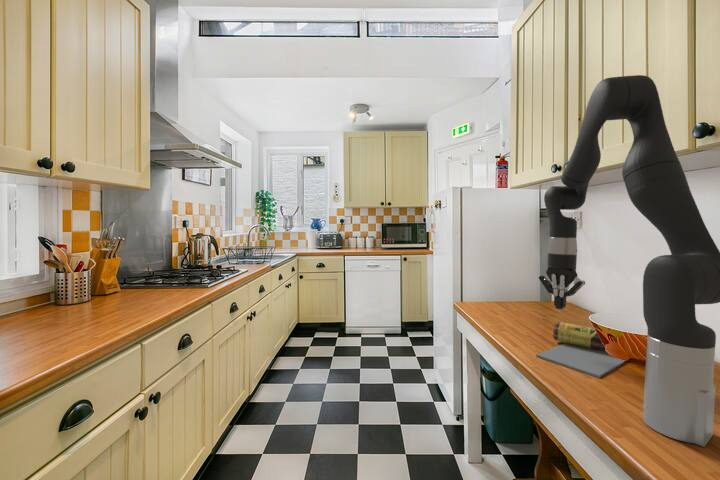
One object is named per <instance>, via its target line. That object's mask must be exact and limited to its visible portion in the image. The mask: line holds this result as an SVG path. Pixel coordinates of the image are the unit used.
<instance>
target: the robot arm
mask: <svg viewBox="0 0 720 480" xmlns="http://www.w3.org/2000/svg"><path fill="white" fill-rule="evenodd" d="M617 120H627V121H628V122H629V123H628V124H630V127H631V131H632V135H633V142H632V145H631V146H630V149H629V151H628V153H627V156H626V157H625V160H624V163H623V166H622V172H621V173H622V174H621V175H622V179H623V182H624V185H625V189H626V192H627V195H628V198H629V199H630V201H631V203H632V205H633V206H634V207H635V208H636V209H637V211H638V212H639V213H640V214H642V215H643V217H645V219H647V221H648V222H650V224H652V226H654V227H655V228H656V229H657V230H658V231H659V232H660V234H661V235H662V237H663V238H664V240H665V242H666V243H667V247H668V249H669V251H670V253H671V254H664V255H658V256H656V257H654V258H652V259H651V260H650V261H649V262H648V263H647V264H646V267H645V270H644V272H643V277H642V278H643V279H642V301H643V302H642V311H643V313H642V314H643V319H644V321H645V324H646V327H647V337H646V350H645V351H646V354H645V371H644V373H645V374H644V393H643V407H642V420H643V422H644V423H645V424H646V425H647V426H648V427H649V428H650V429H652V430H654V431H655V432H657V433H659V434H661V435H664V436H666V437H668V438H670V439H675V440H677V441H682V442H684V443H690V444H695V445H698V446H700V447H704V448H705V447H706V446H707V444H708V443H709V442H710V440H711V438H712V437H713V434H714V420H715V419H714V418H715V403H716V402H715V401H716V389H717V387H716V385H715V384H714V371H715V370H714V369H715V356H716V342H717V335H716V332H715V330H714V329H713V328H711V327H710V326H707V325H705V324H702V323H699V321H697V317H696V316H697V315H696V305H713V304H718V303H720V249H719V248H718V246H717V244H716V243H715V241H714V240H713V239H714V238H712V236H711V233H710V232H709V230H708V228H707V226H706V224H705V222H704V220H703V218H702V214H701V212H700V210H699V207H698V205H697V204H696V200H695V199H694V196H693V194H692V192H691V189H690V186H689V183H688V181H687V177H686V176H687V175H685V172H684V169H683V166H682V164H681V161H680V159H679V158H678V155H677V153H676V151H675V148H674V145H673V142H672V140H671V137H670V133H669V130H668V128H667V125H666V122H665V117H664V112H663V109H662V105H661V99H660V95H659V91H658V87H657V85H656V84H655V81H654V80H653V79H652V78H651V77H650V76H647V75H644V74H643V75H642V74H637V75H624V76H622V75H621V76H614V77H613V76H612V77H607V78H604V79H602V80H601V81H599V82H598V84H596V86H595V87H594V89H593V91H592V92H591V95H590V97H589V99H588V102H587V105H586V108H585V111H584V115H583V119H582V120H581V121H582V122H581V125H580V129H579V132H578V136H577V139H576V143H575V146H574V148H573V151H572V153H571V156H570V157H569V160H568V162H567V164H565V168H564V170H563V172H562V174H561V176H560V179H561V182H562V183H561V184H563V185H565V186H563V185H562V186H560V185H559V186H558V185H557V186H556V185H554V186H551V187H549V188H547V190H546V191H545V193H544V196H543V199H544V200H543V201H544V206H545V208H546V209H545V210H546V212H547V217H548V222H549V239H548V243H547V244H548V245H547V269H546V271H545V273H544V274H543V275H540V276H538V279H539V281H540V282H541V284H542V285H543V287H544V288H545V290H546V291H547V293H548V294H551V295H553V296H554V297H553V298H554V299H553V300H554V301H553V306H554V307H555V309H558V310H564V309H565V308H566V307H567V297H573V296H575V294H576V293H577V292H578V291H580V289H582V287H584V286H585V284H586V281H585V280H582V279H580V278H579V277H578V273H577V262H578V261H577V260H578V259H577V258H578V257H577V256H578V255H577V254H578V242H577V236H578V235H577V234H578V233H577V232H578V221H577V220H576V219H575V218H572V217H567V216H565V215H563V213H562V211H564V210H567V211H568V210H569V211H570V210H571V211H573V210H578V209H580V208H581V207H583V205H584V204H585V202H586V199H587V197H586V196H587V192H588V187H589V184H590V181H591V180H592V178H593V176H594V174H595V173H596V171H597V170H598V168H599V165H600V163H601V159H602V158H601V157H602V156H601V155H602V154H601V148H600V144H599V143H600V142H599V133H600V131H601V129H602V127H603V126H604V124H605V123H606V122H607V121H617ZM561 210H562V211H561ZM571 284H573V286H571V288H570V285H571Z"/></svg>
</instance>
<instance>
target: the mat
mask: <svg viewBox="0 0 720 480" xmlns="http://www.w3.org/2000/svg"><path fill="white" fill-rule="evenodd" d="M535 357H536V358H539V359H542V360H545V361H548V362H551V363H554V364H557V365H560V366H562V367H566V368H569V369H572V370H574V371H578V372H581V373H583V374H586V375H589V376H593V377H595V378H598V379H600V378H602V377H603V376H604V375H606V373H607V374H608V373H610V372H611V371H613V370H615V369H617V368H618V366H619V365H620V366H622V365H624V364H625V363H626V362H625V360H622V359H619V358H616V357H614V356H611V355H609V354H608V353H607V352H606V351H605V350H598V349H593V348H587V347H583V346H578V345H574V344H569V343H565V342H563V343H561V344H559V345H558V346H557V345H556V346H555V347H552V348H549V349H547V350H544V351H542V352H540V353H537V354H536V355H535ZM624 362H625V363H624ZM623 363H624V364H623ZM621 364H622V365H621ZM620 366H619V367H620ZM616 367H617V368H616Z"/></svg>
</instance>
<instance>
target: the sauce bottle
mask: <svg viewBox="0 0 720 480" xmlns="http://www.w3.org/2000/svg"><path fill="white" fill-rule="evenodd" d="M595 329H596V328H594V327H590V326H584V325H580V324H579V325H578V324H574V323H568V322H565V321H564V322H562V321H555V323H554V324H553V330H552V338H553V340H555V341H558V342H562V343H569V344H574V345H578V346H583V347H587V348H593V349H598V350H605V347H604V345H603V344H602V342H601V340H600V338H599V336H598V334H597V332H596V330H595Z"/></svg>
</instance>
